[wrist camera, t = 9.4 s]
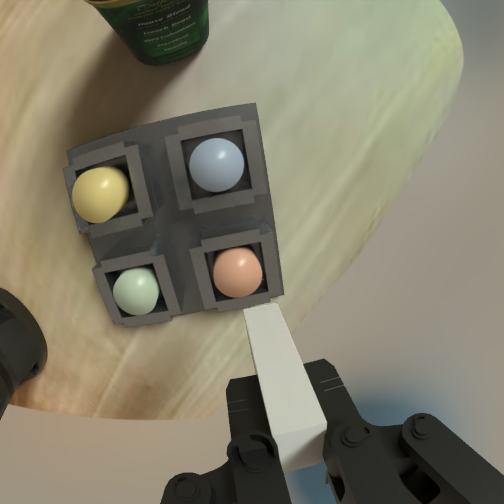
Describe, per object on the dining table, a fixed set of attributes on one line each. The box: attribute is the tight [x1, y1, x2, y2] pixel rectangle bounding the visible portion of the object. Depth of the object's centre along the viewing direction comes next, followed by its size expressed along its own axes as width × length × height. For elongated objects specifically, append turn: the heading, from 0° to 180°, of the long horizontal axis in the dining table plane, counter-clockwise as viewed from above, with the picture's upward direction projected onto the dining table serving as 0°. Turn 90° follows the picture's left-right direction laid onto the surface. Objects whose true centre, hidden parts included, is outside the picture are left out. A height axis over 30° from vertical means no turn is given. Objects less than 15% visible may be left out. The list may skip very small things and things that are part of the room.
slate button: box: [189, 138, 244, 192], centre depth 24 cm, size 4×4×3 cm
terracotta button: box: [213, 245, 262, 298], centre depth 28 cm, size 4×4×3 cm
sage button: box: [113, 264, 161, 315], centre depth 27 cm, size 4×4×3 cm
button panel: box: [63, 103, 284, 327], centre depth 27 cm, size 19×20×4 cm
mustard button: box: [72, 166, 130, 223], centre depth 22 cm, size 4×4×3 cm
